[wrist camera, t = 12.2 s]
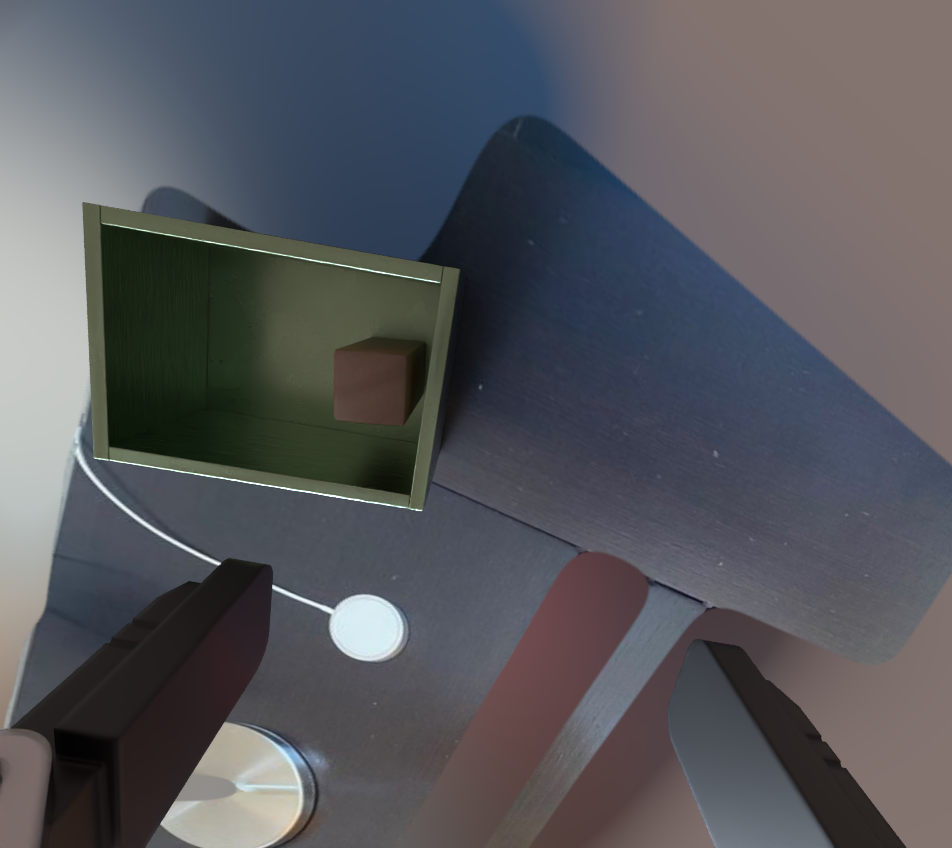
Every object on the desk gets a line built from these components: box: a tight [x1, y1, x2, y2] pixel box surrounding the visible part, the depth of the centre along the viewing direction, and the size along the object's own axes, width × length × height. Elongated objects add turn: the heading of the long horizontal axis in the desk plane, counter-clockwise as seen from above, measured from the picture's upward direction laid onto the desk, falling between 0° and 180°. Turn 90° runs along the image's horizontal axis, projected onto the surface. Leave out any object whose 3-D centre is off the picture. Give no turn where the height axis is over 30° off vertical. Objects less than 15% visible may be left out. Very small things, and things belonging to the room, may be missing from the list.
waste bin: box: [83, 202, 467, 511], centre depth 28 cm, size 18×13×10 cm
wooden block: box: [333, 337, 426, 426], centre depth 28 cm, size 4×4×8 cm
